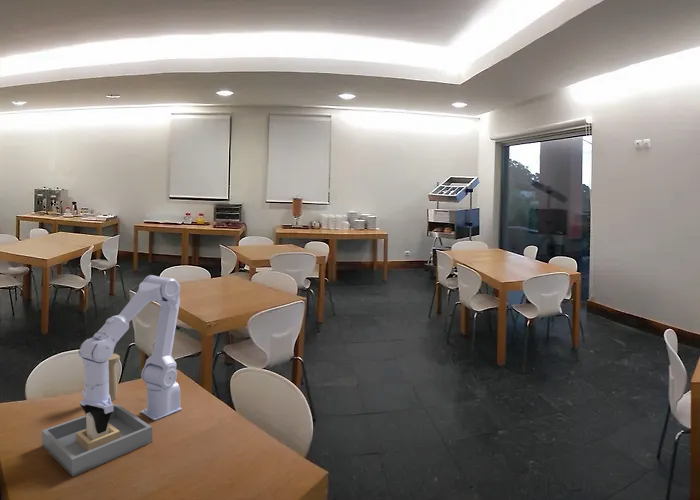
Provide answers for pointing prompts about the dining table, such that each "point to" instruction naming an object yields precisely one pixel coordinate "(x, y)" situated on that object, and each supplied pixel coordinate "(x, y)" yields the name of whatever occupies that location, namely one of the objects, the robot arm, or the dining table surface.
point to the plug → (93, 428)
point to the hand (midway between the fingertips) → (97, 428)
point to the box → (95, 441)
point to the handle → (113, 375)
